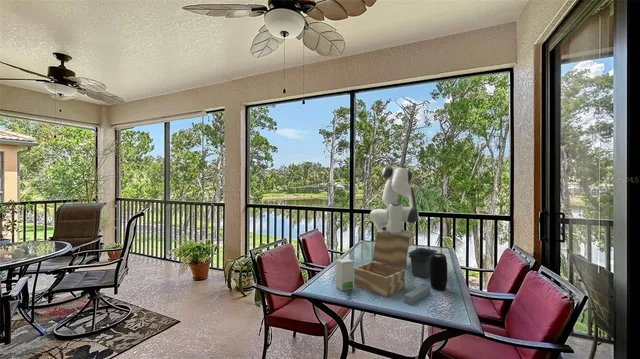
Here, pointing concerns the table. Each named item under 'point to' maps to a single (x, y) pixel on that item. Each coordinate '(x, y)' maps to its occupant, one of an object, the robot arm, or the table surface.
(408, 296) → the grey rectangular bar
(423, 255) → the storage bin
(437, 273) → the portable speaker
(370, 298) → the table surface
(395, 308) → the table surface
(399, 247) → the lid
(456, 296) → the table surface
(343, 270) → the skincare box
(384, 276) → the box
